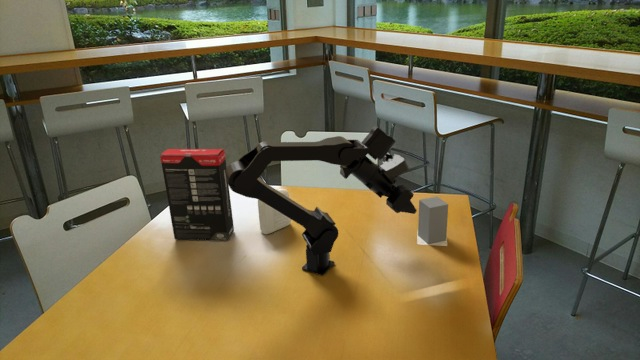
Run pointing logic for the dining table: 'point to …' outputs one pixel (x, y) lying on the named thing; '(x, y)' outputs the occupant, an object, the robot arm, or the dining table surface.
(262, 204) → the photo printer
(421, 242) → the base
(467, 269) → the dining table surface
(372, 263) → the dining table surface
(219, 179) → the graphics card box
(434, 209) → the tall grey box
